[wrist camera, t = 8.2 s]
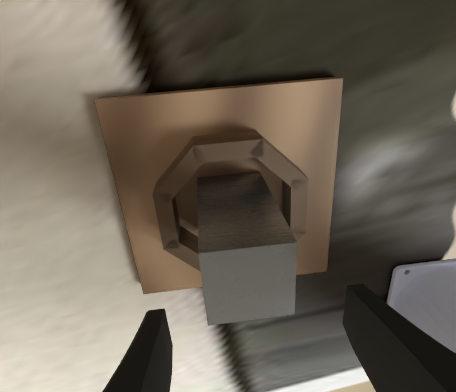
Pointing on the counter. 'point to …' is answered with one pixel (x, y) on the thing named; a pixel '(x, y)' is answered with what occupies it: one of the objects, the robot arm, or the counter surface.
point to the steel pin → (244, 250)
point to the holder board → (221, 165)
